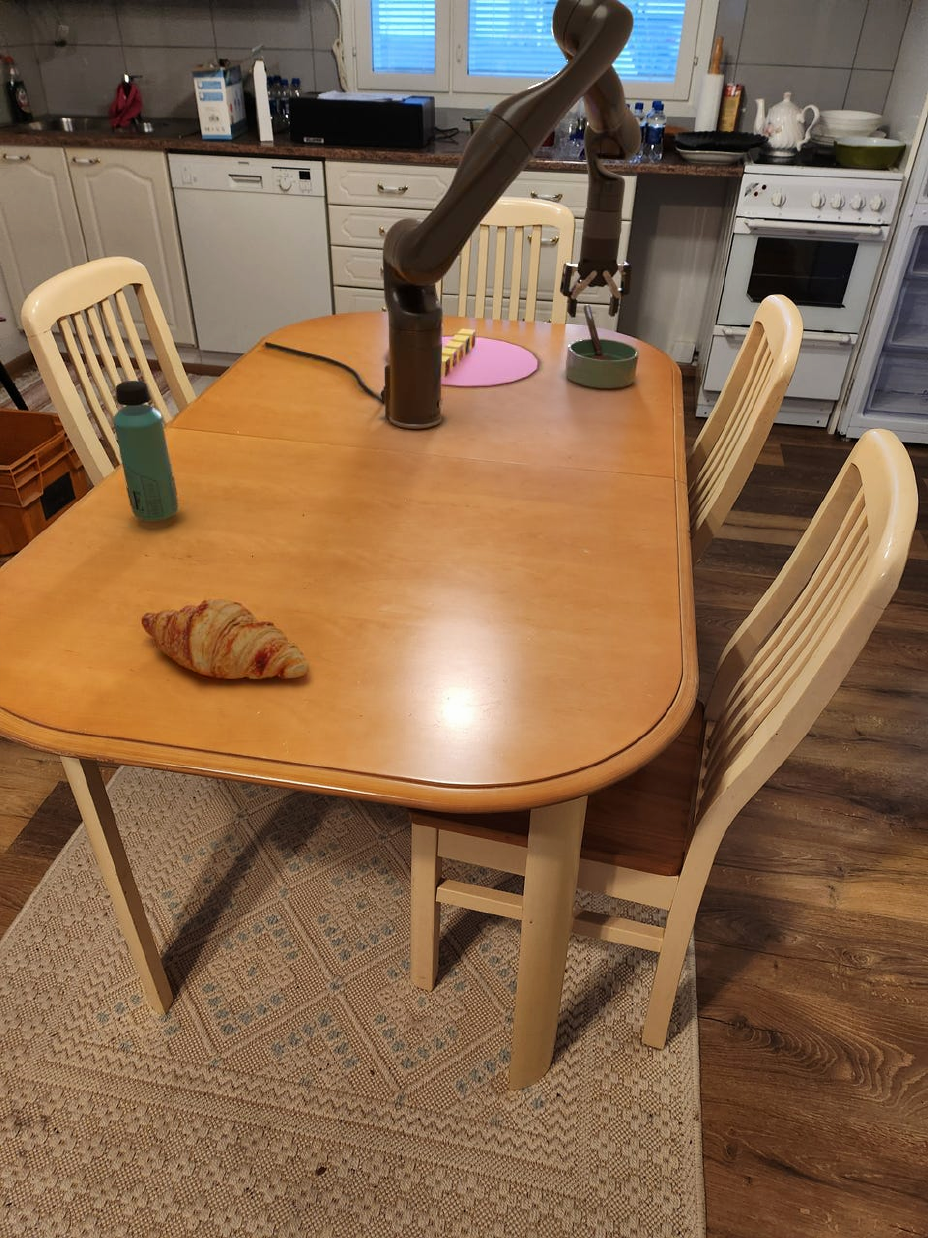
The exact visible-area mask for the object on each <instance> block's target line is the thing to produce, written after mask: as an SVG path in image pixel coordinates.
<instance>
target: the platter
mask: <svg viewBox="0 0 928 1238" xmlns="http://www.w3.org/2000/svg"><path fill="white" fill-rule="evenodd" d="M387 358H388V359H389V356H388V357H387ZM538 363H539V361H538V359H537V358H536V356H535V355H534V354H533V353H532V352H530V351H528V350H527V349H525V348H523V347H521V346H518V345H515V344H513V343H509V342H507V341H503V340H497V339H493V338H492V339H491V338H487V337H479V336H477V330H476V329H470V328H461V329H460V330H459V331H458V332H457V334H454V336H452V335H451V336H450V335H449V336H442V379H441V386H454V387H487V386H488V387H491V386H498V385H504V384H510V383H514V382H517V381H520V380H523V379H525V378H527V377H529V376H531V375H532V374H533V373H534V372H535V371H537V369H538Z"/></svg>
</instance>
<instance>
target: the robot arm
mask: <svg viewBox="0 0 928 1238" xmlns="http://www.w3.org/2000/svg"><path fill="white" fill-rule="evenodd" d="M634 22H635V20H634V15H633V13H632V11H631V9H629V7H628V6H626V5H625V4H624V3H623V2H621V1H620V0H557V1H556V4H555V6H554V9H553V12H552V19H551V32H552V36H553V40H554V41H555V43H556V45H557V47H558V48H559V51H560V52H561V53H562V55H563V56H564V59H565V61H566V65H564V67H562V68H561V69H560V70H559V71H558V72H557V73H555V74H554V75H552V76H551V77H550V78H548V79H546V80H544V81H542V82H540V83H537V84H536V85H533V86H531V87H528V88H526V89H523V90H521V91H519V92H516V93H514V94H512V95H510V96H508V97H506V98H505V99H503V100H501V101H500V102H498V103H497V104H496V105H495V106H494V107H493V108H492V109H491V110H490V112H489V113H488V114H487V116H486V117H485V118H484V120H483V121H482V122H481V123H480V125H479V126H478V127H477V129H476V130H475V131H474V133H473V134H472V135H471V137H470V138H469V140H468V142H467V144H466V145H465V148H464V150H463V152H462V155H461V157H460V159H459V163H458V165H457V168H456V171H455V174H454V176H453V178H452V181H451V183H450V185H449V187H448V189H447V191H446V192H445V194H444V195H443V197H442V198H441V199H440V200H439V202H438V203H437V205H435V207H434V208H433V209H432V211H431V212H430V213H429V214H428V215H427V216H426V217H425V218H424V219H423V220H420V219H418V218H411V217H409V218H408V217H407V218H403V219H400V220H398V221H396V222H395V223H393V225H392V226H391V227H390V228H389V229H388V230H387V232H386V235H385V237H384V241H383V246H382V276H383V277H382V278H383V279H382V281H383V297H384V303H385V308H386V311H387V315H388V317H387V319H388V357H389V358H388V364H387V365H385V366H384V386H383V389H382V390H381V391H380V396H378V395H377V394H376V393H374V391H372V390H371V389H370V388H369V387H368V386H367V385H366V384H365V383H364V382H363V381H362V379H361V377H360V374H359V373H358V372H357V371H356V370H355V369H353V368H352V367H350V366H349V365H346V364H345V363H343V362H340V361H338V360H335V359H333V358H329V357H327V356H324V355H320V354H316V353H312V352H308V351H307V352H306V351H302V350H299V349H294V348H290V347H286V346H283V345H279V344H275V343H271V342H268V341H265V342H264V346H266V347H270V348H273V349H277V350H281V351H285V352H289V353H292V354H296V355H300V356H305V357H309V358H312V359H313V358H314V359H317V360H321V361H324V362H327V363H330V364H334V365H336V366H338V367H340V368H343V369H345V370H346V371H348V372H349V373H351V374H352V375H353V376H354V377H355V379H356V381H357V383H358V385H360V387H361V388H362V389H363V390H364V391H365V392H366V393H367V394H368V395H370V396H371V397H373V398H375V399H377V400H378V401H380V402H381V403H384V411H385V412H384V418H385V419H388V420H389V422H390V423H391V424H392V425H394V426H396V427H400V428H403V429H409V430H424V429H430V428H432V427H435V426H437V425H440V423H441V422H442V405H443V402H444V398H443V396H442V385H441V379H442V337H443V329H444V328H443V325H444V323H443V322H444V310H443V307H442V304H441V302H440V299H439V296H438V293H437V287H436V284H437V283H438V282H440V281H441V280H442V279H443V278H444V277H446V275H447V273H448V272H449V271H450V269H451V268H452V266H453V265H454V263H455V261H456V260H457V259H458V257H459V255H460V254H461V252H462V250H463V249H464V248H465V246H466V244H467V243H468V241H469V240H470V238H471V237H472V235H473V233H474V232H475V230H477V228H478V227H479V225H480V224H481V222H482V221H483V220H484V218H485V217H486V216H487V215H488V214H489V213H490V211H491V210H492V209H493V208H494V206H495V205H496V203H497V202H498V201H499V200H500V198H501V197H502V196H503V195H504V193H505V192H506V191H507V190H508V188H509V187H510V186H511V185H512V184H513V182H514V181H515V180H516V179H517V178H518V176H519V175H520V174H521V173H522V172H523V170H524V169H525V168H526V167H527V165H529V163H530V162H531V160H533V158H534V156H535V155H536V154H537V152H538V151H539V149H541V147H542V146H543V144H544V143H545V142H546V140H547V139H548V138H549V136H550V135H551V134H552V133H553V132H554V130H555V129H556V128H557V126H558V125H559V124H560V122H562V120H563V119H564V118H565V117H566V115H567V114H568V113H569V112H570V111H571V109H573V107H574V106H575V105H576V104H577V103H578V102H579V101H580V99H582V103H583V107H584V111H585V115H586V118H587V124H586V125H585V129H584V132H583V148H584V149H583V150H584V154H585V155H584V156H585V160H586V166H587V167H586V168H587V182H588V183H587V184H588V185H587V196H586V205H585V213H584V216H583V222H582V232H581V242H580V251H579V261H578V263H577V264H570V263H568V262H565V263H564V264H563V266H562V273H561V280H560V286H559V292H560V294H561V295H562V296H564V297H567V308H566V309H567V310H566V311H567V314H568V315H569V317H570V318H572V319H575V318H576V316H577V309H578V307H577V306H578V299H577V298H578V297H579V295H580V294H581V293H582V292H583V291H585V289H587V287H588V288H595V287H599V288H605V287H607V289H608V290H609V292H610V293H611V295H610V297H609V306H608V316H610V317H611V318H612V317H615V316H616V315H617V314H618V312H619V307H620V299H621V297H624V296H628V295H630V291H631V279H632V265H631V264H629V263H628V262H626V261H624V262H622V263H618V256H619V249H620V240H621V234H622V229H623V228H622V225H623V224H622V223H623V207H624V198H625V192H626V191H625V190H626V180H625V178H624V177H623V176H622V175H620V174H617V173H614V172H611V171H609V170H607V168H606V167H605V165H604V162H603V160H604V161H616V162H628V161H630V160H632V159H634V157H636V155H637V154H638V152H639V151H640V148H641V143H642V130H641V126H640V123H639V121H638V119H637V117H636V115H635V114H634V112H633V111H632V110H631V109H630V107H629V106H628V105H627V101H626V96H625V90H624V86H623V83H622V81H621V78H620V76H619V74H618V72H617V71H616V68H615V67H614V66H613V64H614V63H615V61H616V60H617V59H618V57H619V56H620V55H621V53H623V51H624V49H625V47H626V45H627V43H628V42H629V40H630V38H631V35H632V32H633V28H634ZM576 272H577V273H578V275H579V276H578V278H577V279H576V280H575V281H574V283H573V285H572V287H571V282H572V277H573V276H575V273H576ZM617 272H618V273H619V275H620V287H619V288H618V286H617V284H616V283H615V281H614V279H613V278H614V276H616V274H617ZM570 287H571V288H570Z"/></svg>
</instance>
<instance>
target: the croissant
mask: <svg viewBox="0 0 928 1238" xmlns="http://www.w3.org/2000/svg"><path fill="white" fill-rule="evenodd" d="M140 622H141V626H142V627H143V630H144V631H145V633H147V634H148V635H149V636H151V637H152V638H153V640H154V642H155V644H156V645H155V646H157V648H158V649H159V650H160V651H161V652H163V654H165V655H167V656H168V657H169V658H171V659H172V660H173V661H174V662H175V663H177V664H178V665H179V666H181V667H182V668H183V667H184V668H185V669H187V670H190V671H192V672H194V673H195V672H196V673H198V674H199V675H203V676H208V677H211V678H215V679H231V680H232V679H243V678H248V680H249V679H250V680H261V679H266V678H270V679H271V678H273V677H274V676H275V677H278V678H281V679H295V678H300V677H303V676H304V675H306V674H308V672H309V671H310V664H309V662H307V659H306V657H305V656H304V653H303V651H301V649H300V647H299V646H298V644H296V643H294V642H293V643H292V642H290V641H289V640H288V637H287V636H286V634H285V633H284V632H283V630H282V629H280V628H278V627H276V625H275V624H274V622H272V621H259V619H258V618H257V617H256V616H254V614H253V612H251V610H249V609H248V608H246V607H245V606H243V605H242V603H241V602H238V601H234V600H230V599H229V600H227V599H222V598H217V599H216V598H215V599H211V598H209V599H207V600H206V599H204V600H202V601H201V603H200V604H199V605H198V606H197V605H193V604H189V605H186V606H184V607H182V608H181V609H180V610H179V611H178V610H175V609H165V610H164V609H163V610H161V611H159V612H157V613H153V612H146V613H145V614H144V615H143V616H141V621H140Z"/></svg>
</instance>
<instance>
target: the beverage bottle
mask: <svg viewBox="0 0 928 1238" xmlns="http://www.w3.org/2000/svg"><path fill="white" fill-rule="evenodd" d="M115 394H116V403H117V404H119V405H121V406H123V407H120V409H119V410H118V411H117V412H116V413H115V414H114V416H113V418H112V424H113V425H114V426H113V427H114V431H115V435H116V439H117V445H118V449H119V451H117V452H118V454H119V455H118V456H119V458H120V460H121V464H122V469H123V475H124V478H123V479H124V482H125V484H126V486H125V488H126V492H127V498H128V503H129V505H130V510H131V512H132V513H133V515H134V516H135V517H136V519H139V520H141V521H144V522H158V521H163V520H167V519H169V518H172V517H174V515H176V514H177V512H178V510H179V506H180V504H179V498H178V491H177V486H176V481H175V477H174V476H175V474H174V472H173V466H172V462H171V457H170V454H169V450H168V444H167V438H166V433H165V429H164V427H165V426H164V422H163V414H162V413H161V412H160V411H159V410H157V409H156V408H155V407H153V406H152V405H150V404H147V403H148V402H150V401H151V395H150V393H149V389H148V385H147V383H146V382H144V381H140V380H127V381H123V382H119V383H118V384H117V385H116V386H115Z"/></svg>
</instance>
